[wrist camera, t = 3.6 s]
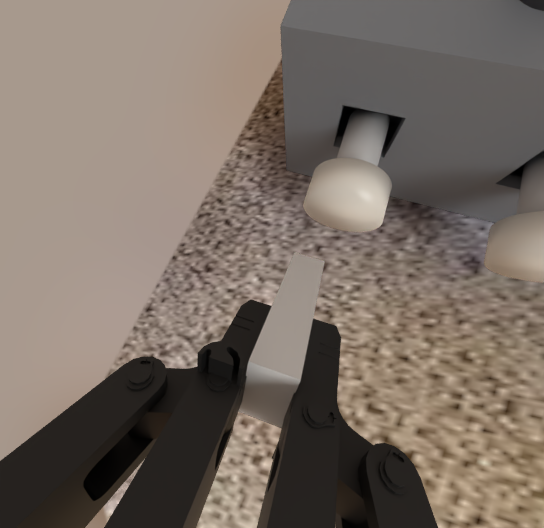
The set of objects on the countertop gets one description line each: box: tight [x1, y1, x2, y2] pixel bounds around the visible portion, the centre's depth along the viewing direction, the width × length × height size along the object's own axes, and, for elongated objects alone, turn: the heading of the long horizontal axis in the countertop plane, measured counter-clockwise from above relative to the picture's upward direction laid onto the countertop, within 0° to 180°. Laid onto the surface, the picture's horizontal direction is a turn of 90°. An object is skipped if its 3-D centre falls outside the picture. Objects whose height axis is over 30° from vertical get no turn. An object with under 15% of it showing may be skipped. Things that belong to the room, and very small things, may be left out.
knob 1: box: [303, 108, 392, 232], centre depth 18 cm, size 5×7×5 cm
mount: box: [281, 0, 544, 223], centre depth 19 cm, size 24×8×13 cm, turn 71°
